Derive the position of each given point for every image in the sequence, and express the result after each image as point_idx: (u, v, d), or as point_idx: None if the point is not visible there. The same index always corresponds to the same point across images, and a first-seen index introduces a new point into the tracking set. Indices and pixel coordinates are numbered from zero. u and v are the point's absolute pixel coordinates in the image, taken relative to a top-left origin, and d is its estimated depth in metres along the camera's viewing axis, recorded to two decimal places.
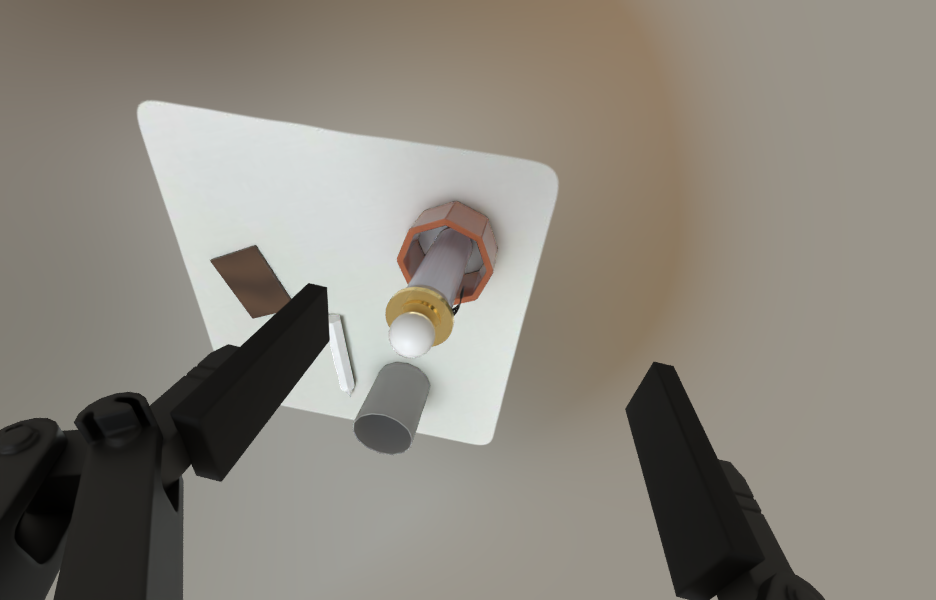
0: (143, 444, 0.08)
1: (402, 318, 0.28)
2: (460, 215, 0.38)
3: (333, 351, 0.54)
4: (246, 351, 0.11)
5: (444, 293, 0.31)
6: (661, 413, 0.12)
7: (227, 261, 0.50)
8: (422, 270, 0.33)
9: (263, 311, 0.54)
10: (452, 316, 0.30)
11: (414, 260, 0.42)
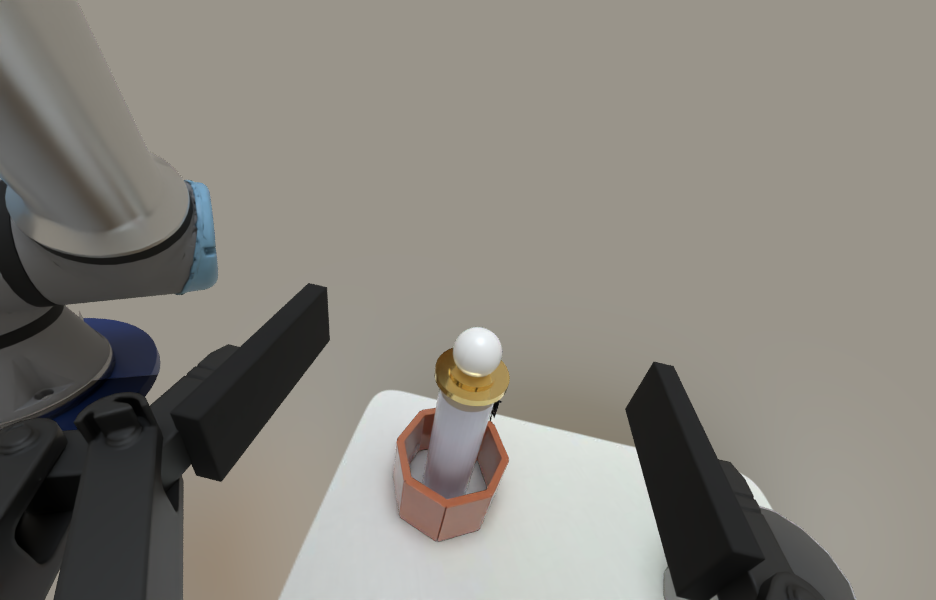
0: (143, 444, 0.08)
1: (454, 350, 0.26)
2: None
3: None
4: (246, 351, 0.11)
5: None
6: (661, 413, 0.12)
7: None
8: (436, 417, 0.30)
9: None
10: None
11: None
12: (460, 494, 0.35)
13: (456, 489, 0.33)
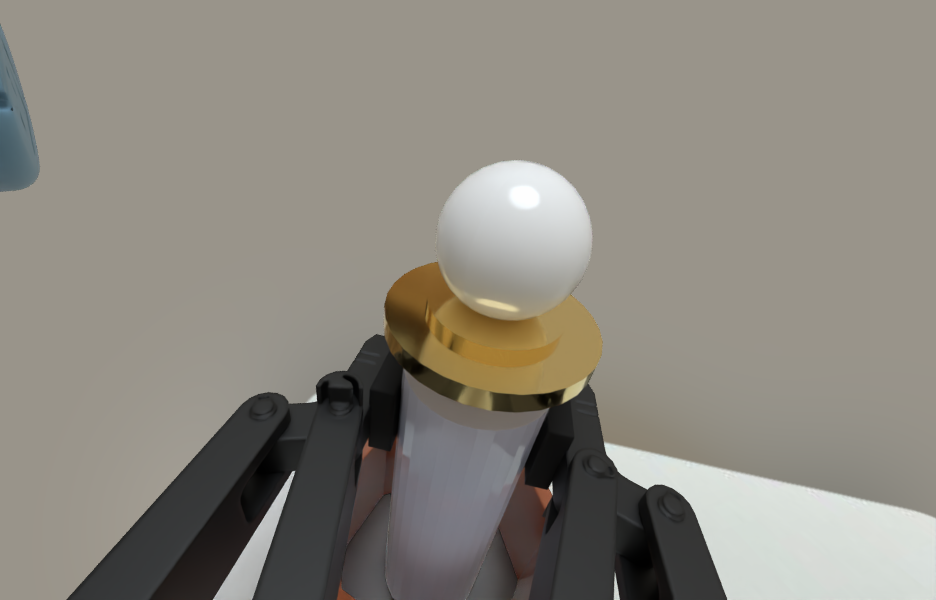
0: (351, 420, 0.10)
1: (440, 229, 0.08)
2: None
3: None
4: None
5: None
6: None
7: None
8: (399, 441, 0.12)
9: None
10: None
11: None
12: (462, 599, 0.16)
13: (453, 596, 0.15)
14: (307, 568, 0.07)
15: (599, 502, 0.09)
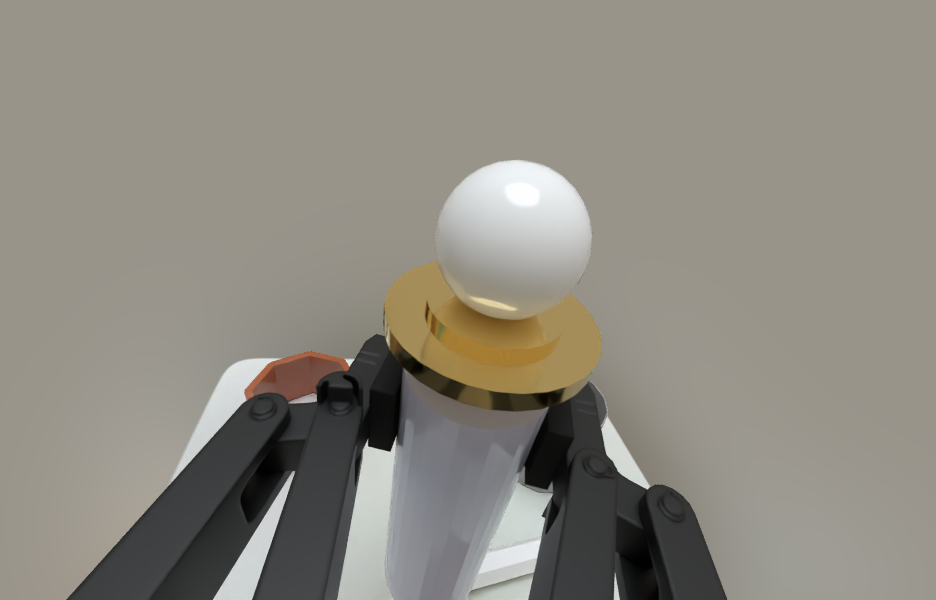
0: (351, 420, 0.10)
1: (440, 228, 0.08)
2: None
3: (522, 557, 0.30)
4: None
5: None
6: None
7: None
8: (399, 440, 0.12)
9: None
10: None
11: None
12: (462, 599, 0.16)
13: (453, 596, 0.15)
14: (308, 567, 0.07)
15: (599, 502, 0.09)
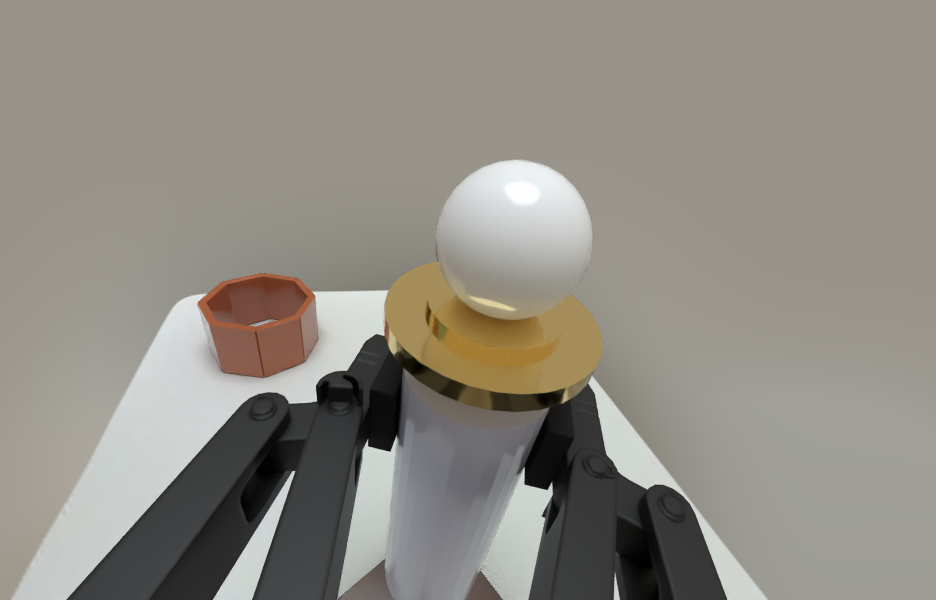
0: (351, 420, 0.10)
1: (440, 228, 0.08)
2: None
3: None
4: None
5: None
6: None
7: None
8: (399, 440, 0.12)
9: (478, 585, 0.25)
10: None
11: None
12: (462, 599, 0.16)
13: (453, 596, 0.15)
14: (308, 567, 0.07)
15: (599, 502, 0.09)
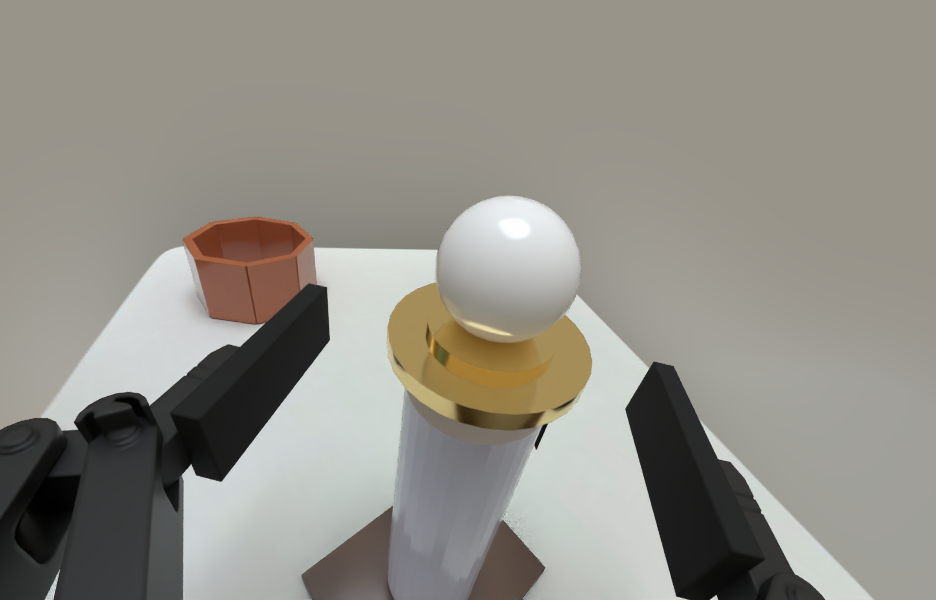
0: (143, 444, 0.08)
1: (439, 260, 0.09)
2: None
3: None
4: (246, 351, 0.11)
5: None
6: (661, 413, 0.12)
7: None
8: (401, 452, 0.12)
9: (501, 535, 0.21)
10: None
11: None
12: None
13: (452, 599, 0.16)
14: None
15: None
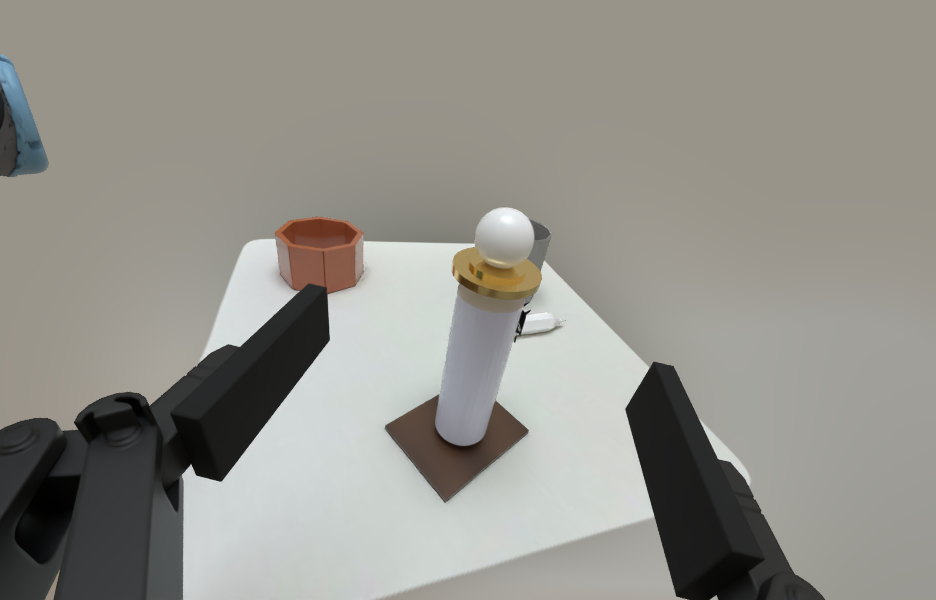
0: (143, 444, 0.08)
1: (477, 233, 0.21)
2: None
3: None
4: (246, 351, 0.11)
5: None
6: (661, 413, 0.12)
7: (432, 466, 0.29)
8: (453, 330, 0.25)
9: (502, 414, 0.34)
10: None
11: None
12: (479, 434, 0.30)
13: (475, 426, 0.29)
14: None
15: None
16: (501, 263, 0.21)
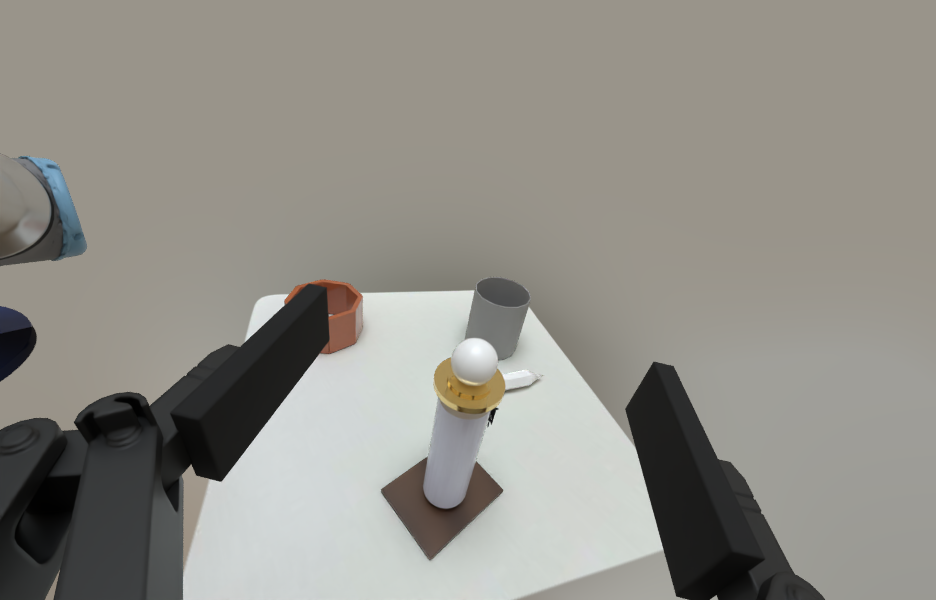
0: (143, 444, 0.08)
1: (452, 360, 0.27)
2: None
3: None
4: (246, 351, 0.11)
5: None
6: (661, 413, 0.12)
7: (420, 527, 0.34)
8: (436, 424, 0.31)
9: (481, 474, 0.40)
10: None
11: None
12: (459, 499, 0.36)
13: (455, 494, 0.34)
14: None
15: None
16: (471, 384, 0.27)
